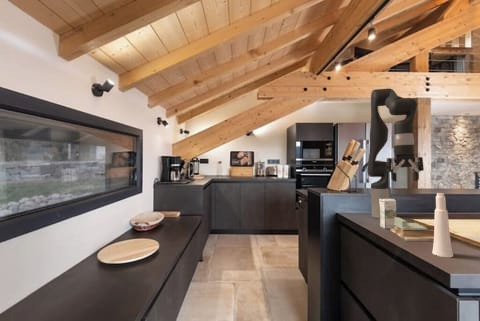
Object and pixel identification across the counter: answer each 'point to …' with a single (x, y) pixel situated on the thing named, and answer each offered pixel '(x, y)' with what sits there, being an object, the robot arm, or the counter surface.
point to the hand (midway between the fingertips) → (404, 181)
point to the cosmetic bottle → (441, 229)
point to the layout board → (415, 233)
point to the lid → (408, 225)
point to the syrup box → (387, 213)
